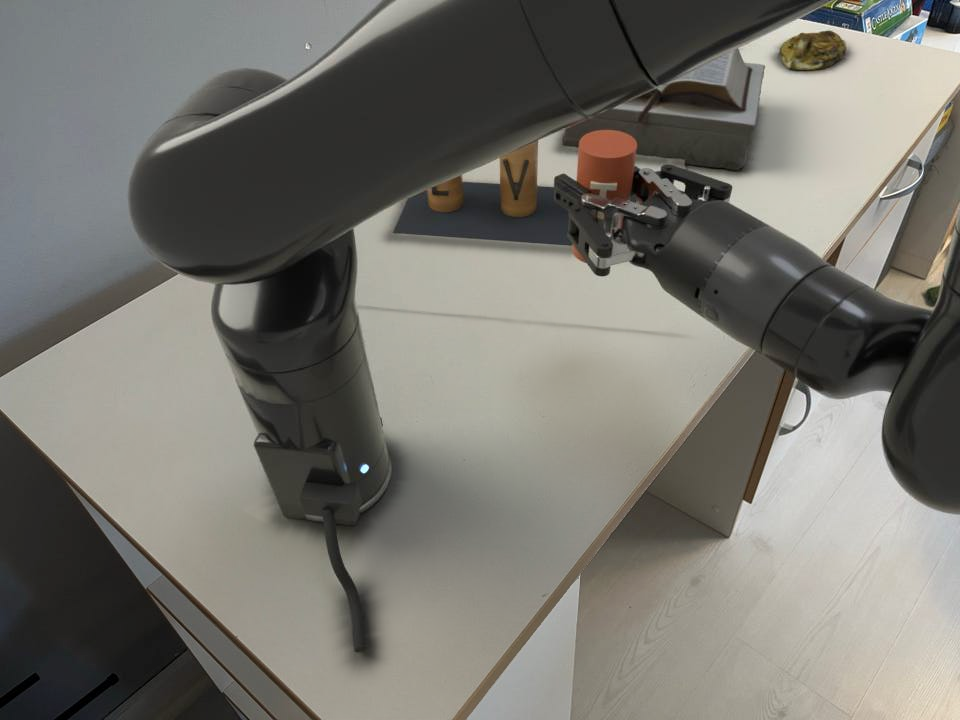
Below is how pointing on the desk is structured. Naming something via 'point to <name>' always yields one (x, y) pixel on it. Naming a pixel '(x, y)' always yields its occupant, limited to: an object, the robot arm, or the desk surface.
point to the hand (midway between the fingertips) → (581, 175)
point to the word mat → (488, 218)
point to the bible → (690, 115)
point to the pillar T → (606, 167)
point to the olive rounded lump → (812, 50)
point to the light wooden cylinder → (519, 181)
